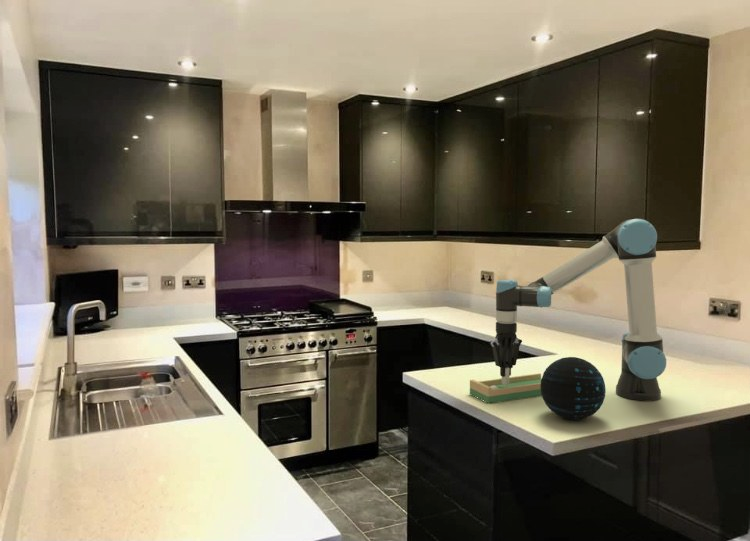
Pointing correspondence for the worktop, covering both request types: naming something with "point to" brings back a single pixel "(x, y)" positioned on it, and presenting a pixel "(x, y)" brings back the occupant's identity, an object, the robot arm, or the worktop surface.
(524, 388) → the tray
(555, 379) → the decorative sphere
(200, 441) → the worktop surface
